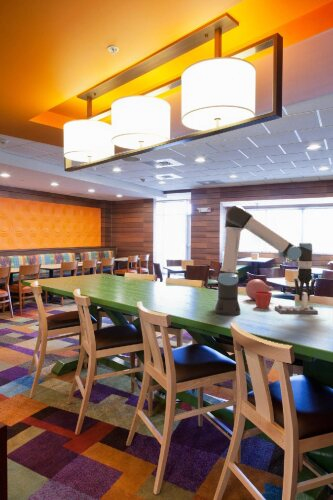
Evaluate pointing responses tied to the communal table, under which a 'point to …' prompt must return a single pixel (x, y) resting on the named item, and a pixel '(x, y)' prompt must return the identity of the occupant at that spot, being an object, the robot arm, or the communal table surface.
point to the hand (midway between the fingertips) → (304, 306)
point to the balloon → (256, 287)
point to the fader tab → (304, 301)
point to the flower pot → (262, 299)
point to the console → (295, 310)
